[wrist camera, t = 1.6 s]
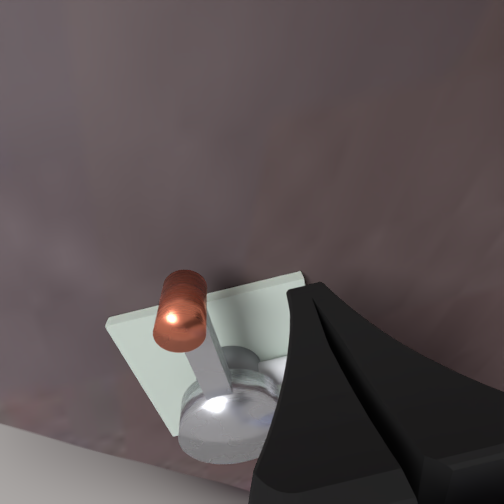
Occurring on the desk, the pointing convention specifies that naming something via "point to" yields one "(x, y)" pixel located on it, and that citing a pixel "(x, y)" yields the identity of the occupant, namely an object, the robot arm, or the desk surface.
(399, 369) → the robot arm
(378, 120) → the desk surface
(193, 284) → the key lever
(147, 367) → the base
